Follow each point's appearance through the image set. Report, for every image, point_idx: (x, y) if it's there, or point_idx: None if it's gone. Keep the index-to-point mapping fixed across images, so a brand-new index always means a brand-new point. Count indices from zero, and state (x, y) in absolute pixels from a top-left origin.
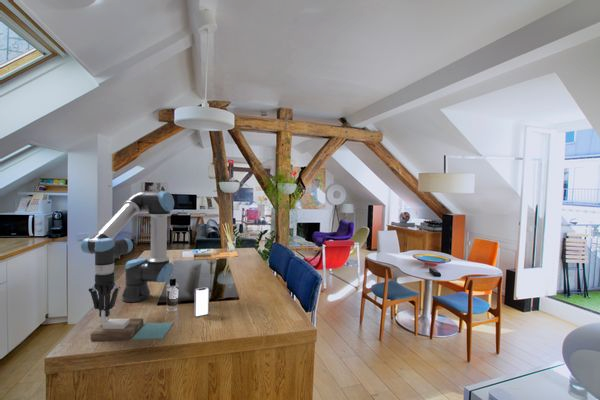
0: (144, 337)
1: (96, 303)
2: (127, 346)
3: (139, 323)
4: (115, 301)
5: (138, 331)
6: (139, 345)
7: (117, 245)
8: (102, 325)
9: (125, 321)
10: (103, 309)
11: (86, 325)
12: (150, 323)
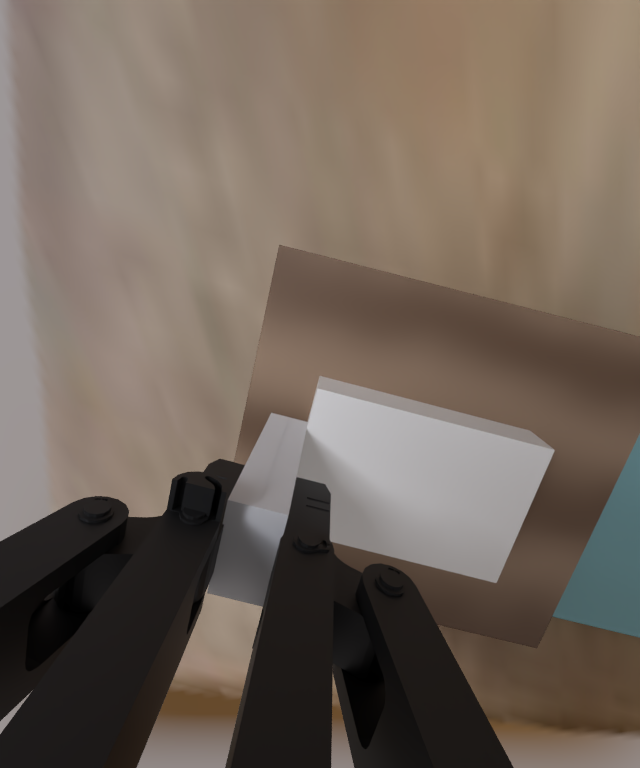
0: (628, 621)
1: (26, 690)
2: (502, 682)
3: (623, 443)
4: (469, 685)
5: None
6: (582, 692)
7: None
8: (262, 418)
9: (510, 515)
10: (227, 549)
11: (74, 199)
12: None
